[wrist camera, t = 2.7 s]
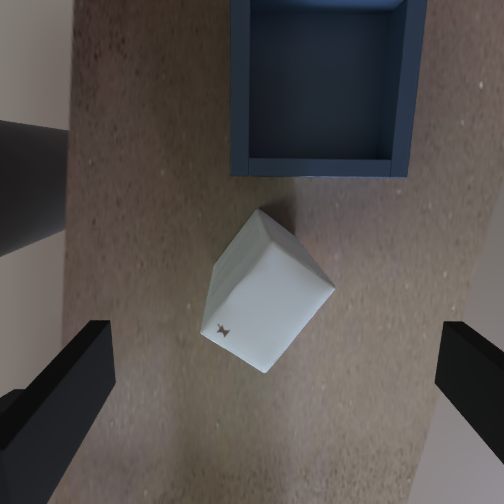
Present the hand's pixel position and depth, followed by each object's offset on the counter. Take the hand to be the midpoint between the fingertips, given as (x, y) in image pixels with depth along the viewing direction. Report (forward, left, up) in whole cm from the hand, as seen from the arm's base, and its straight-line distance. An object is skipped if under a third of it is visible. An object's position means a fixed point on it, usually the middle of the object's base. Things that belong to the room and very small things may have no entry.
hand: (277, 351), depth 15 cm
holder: (+4, +12, -16) cm, 20 cm away
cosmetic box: (0, 0, -16) cm, 16 cm away
